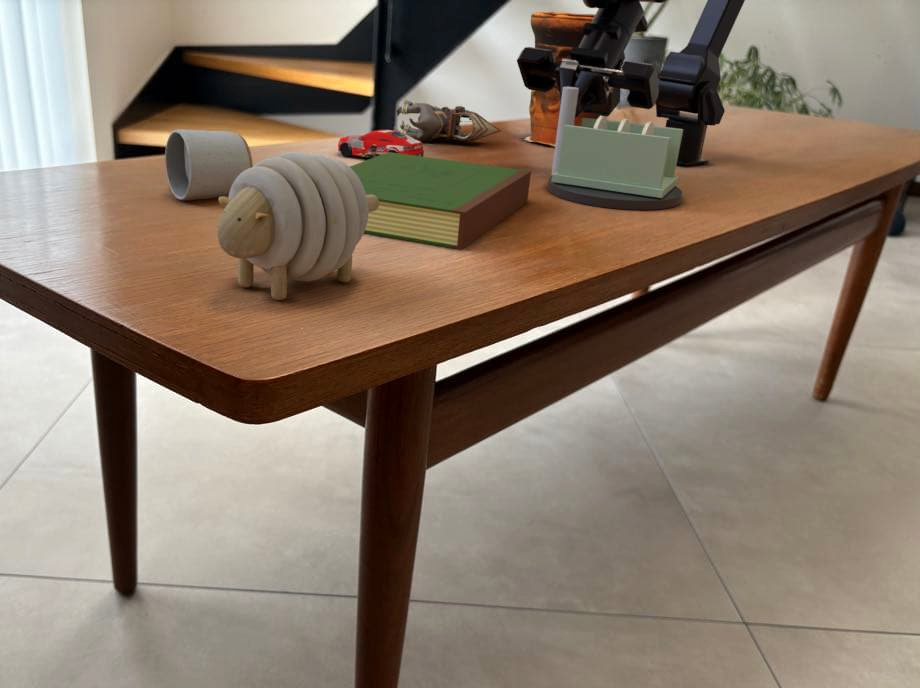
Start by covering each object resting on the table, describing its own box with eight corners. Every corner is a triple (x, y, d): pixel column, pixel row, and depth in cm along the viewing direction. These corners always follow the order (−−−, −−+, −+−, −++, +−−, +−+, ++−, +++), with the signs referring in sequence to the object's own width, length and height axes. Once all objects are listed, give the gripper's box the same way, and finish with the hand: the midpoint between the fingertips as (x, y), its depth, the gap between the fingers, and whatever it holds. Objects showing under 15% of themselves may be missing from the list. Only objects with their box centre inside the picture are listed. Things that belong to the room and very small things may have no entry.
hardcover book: (461, 249, 88) (465, 212, 86) (296, 221, 94) (296, 186, 93) (528, 200, 109) (532, 170, 107) (389, 180, 115) (391, 151, 113)
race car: (330, 155, 129) (330, 126, 127) (349, 150, 133) (350, 122, 131) (409, 167, 123) (411, 138, 121) (427, 162, 128) (429, 133, 126)
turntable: (605, 175, 125) (606, 167, 125) (708, 201, 113) (710, 192, 113) (520, 186, 116) (521, 177, 115) (622, 216, 104) (623, 206, 103)
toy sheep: (184, 289, 73) (177, 152, 68) (323, 251, 85) (326, 132, 80) (274, 323, 67) (273, 176, 62) (409, 277, 79) (418, 150, 74)
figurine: (410, 96, 153) (507, 104, 150) (407, 132, 155) (502, 141, 153) (388, 102, 135) (498, 112, 132) (385, 143, 137) (493, 153, 134)
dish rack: (539, 180, 113) (551, 90, 108) (562, 168, 121) (574, 83, 116) (662, 198, 107) (680, 103, 102) (677, 184, 115) (694, 96, 110)
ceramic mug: (257, 200, 102) (256, 131, 98) (191, 207, 97) (187, 135, 94) (217, 183, 109) (215, 118, 106) (154, 188, 105) (150, 121, 102)
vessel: (500, 139, 148) (514, 10, 140) (544, 132, 158) (560, 10, 149) (575, 153, 140) (595, 16, 131) (617, 144, 150) (638, 16, 141)
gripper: (680, 86, 121) (634, 179, 118) (556, 67, 130) (511, 153, 127) (674, 25, 111) (624, 124, 108) (541, 9, 120) (491, 101, 117)
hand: (560, 127), depth 115 cm, fingers closed, pressing on dish rack
